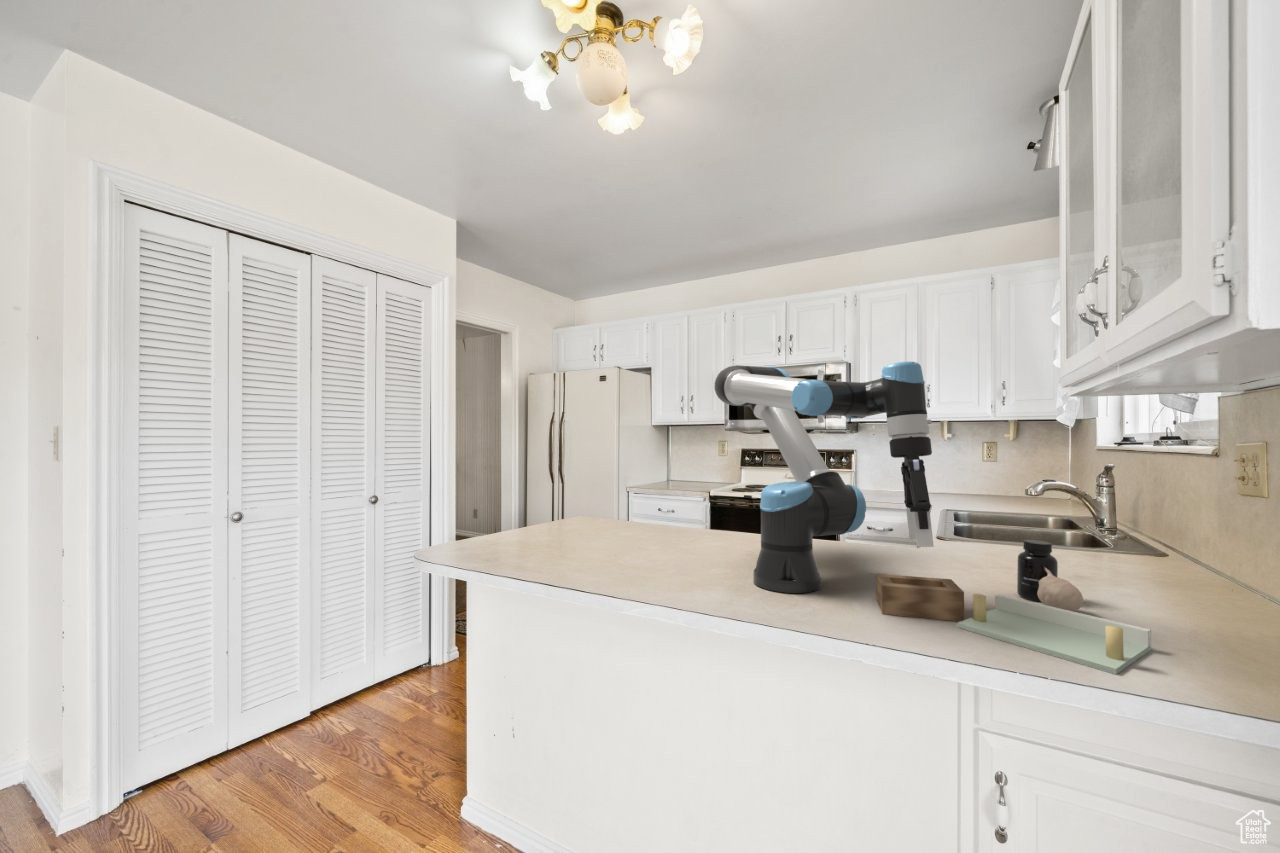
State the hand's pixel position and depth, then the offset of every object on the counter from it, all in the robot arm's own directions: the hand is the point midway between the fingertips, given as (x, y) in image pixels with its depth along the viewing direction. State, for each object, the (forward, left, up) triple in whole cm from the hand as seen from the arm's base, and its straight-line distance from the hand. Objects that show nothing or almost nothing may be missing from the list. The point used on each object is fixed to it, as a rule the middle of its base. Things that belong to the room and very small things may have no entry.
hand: (920, 543), depth 105 cm
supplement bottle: (+9, +28, -13) cm, 32 cm away
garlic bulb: (+15, +22, -13) cm, 30 cm away
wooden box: (0, -1, -13) cm, 13 cm away
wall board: (+20, +4, -13) cm, 24 cm away
